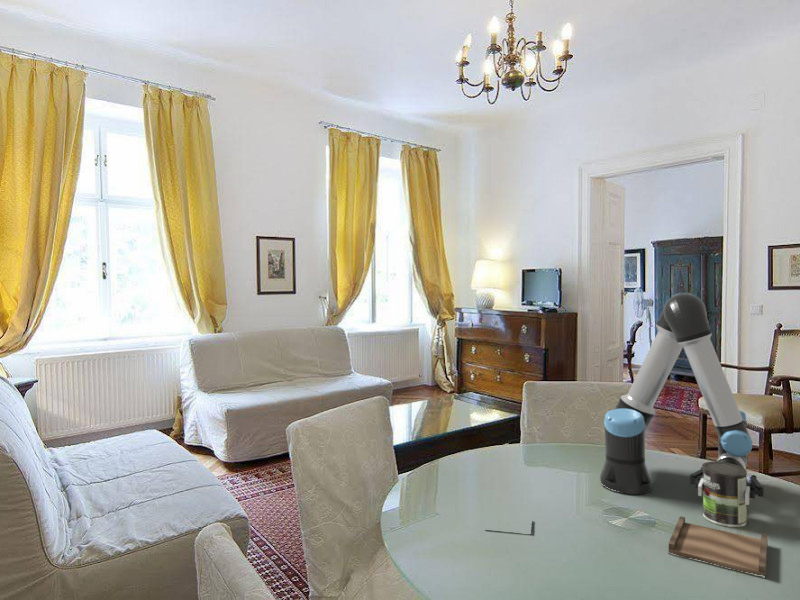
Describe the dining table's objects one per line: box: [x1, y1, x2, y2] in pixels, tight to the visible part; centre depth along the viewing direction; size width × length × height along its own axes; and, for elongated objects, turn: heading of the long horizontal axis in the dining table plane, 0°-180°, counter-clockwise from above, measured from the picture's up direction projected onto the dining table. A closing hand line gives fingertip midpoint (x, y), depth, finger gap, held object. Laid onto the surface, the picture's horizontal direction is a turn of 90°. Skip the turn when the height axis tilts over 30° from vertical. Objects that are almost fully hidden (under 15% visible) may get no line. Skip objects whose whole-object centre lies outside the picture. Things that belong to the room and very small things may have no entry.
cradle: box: [668, 515, 768, 576], centre depth 125 cm, size 17×19×3 cm
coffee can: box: [701, 461, 748, 528], centre depth 141 cm, size 10×10×14 cm
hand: (722, 495), depth 137 cm, fingers closed on coffee can, 10 cm apart
